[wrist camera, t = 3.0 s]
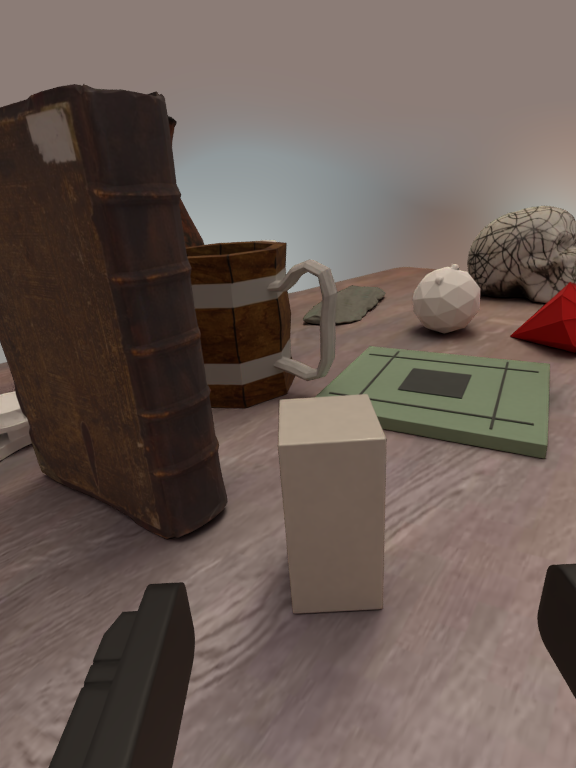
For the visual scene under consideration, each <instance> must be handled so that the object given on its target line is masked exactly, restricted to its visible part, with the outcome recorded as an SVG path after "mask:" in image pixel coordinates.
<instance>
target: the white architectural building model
mask: <svg viewBox="0 0 576 768" xmlns="http://www.w3.org/2000/svg"><path fill="white" fill-rule="evenodd" d="M29 429H30V425H29V422H28V419H27V418H26V416H25V415H24V414H23V413H22V411H21V408H20V405H19V403H18V400H17V397H16V392H10V393H5V394H1V395H0V461H1V460H2V459H4V458H6V457H7V456H9V455H10V454H12V453H14V452H15V451H17V450H19V449H21V448H23V447H25V446H27V445H29V444H31V443H32V442H31V438H30V435H29Z"/></svg>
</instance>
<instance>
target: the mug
mask: <svg viewBox="0 0 576 768" xmlns="http://www.w3.org/2000/svg"><path fill="white" fill-rule="evenodd" d="M186 254H187V258H188V260H189V263H190V266H191V275H190V277H191V284H192V291H193V298H194V305H195V312H196V318H197V324H198V327H199V330H200V334H201V336H200V341H201V347H202V354H203V360H204V367H205V373H206V380H207V385H208V386H209V388H210V389H211V391H210V395H209V396H210V404H211V407H221V408H247V407H250V406H253V405H255V404H258V403H261V402H264V401H267V400H270V399H273V398H276V397H279V396H281V395H284V394H287V393H288V390H289V388H290V386H291V384H292V381H293V379H294V377H295V376H297V377H299V378H301V379H304V380H306V381H310V380H314V379H317V378H321V377H324V376H326V374H327V373H328V371H329V369H330V367H331V365H332V362H333V360H334V358H335V340H336V337H335V316H336V304H337V289H336V286H335V282H334V279H333V276H332V273H331V270H330V268H328V267H326V266H324V265H322V264H320V263H318V262H316V261H314V260H307V261H305V262H302V263H300V264H297V265H295V266H293V267H292V268H291V269H290V270H289V272H288V273H287V274H286V268H285V265H286V243H281V242H268V241H252V242H232V243H216V244H209V245H201V246H193V247H186ZM307 272H309V273H311V274H313V275H315V276H317V277H318V279H319V284H320V288H321V293H322V307H321V317H320V347H321V360H320V362H319V365H318V368H317V369H312V368H310V367H309V366H307V365H305V364H303V363H301V362H298V361H295V360H292V357H291V343H290V326H291V310H290V304H289V298H288V292H287V291H288V290H289V289H290V288H291V287H292V286H293V285H294V284H296V282H297V281H298V280H299V278H300V277H301V276H302V275H303V274H305V273H307Z"/></svg>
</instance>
